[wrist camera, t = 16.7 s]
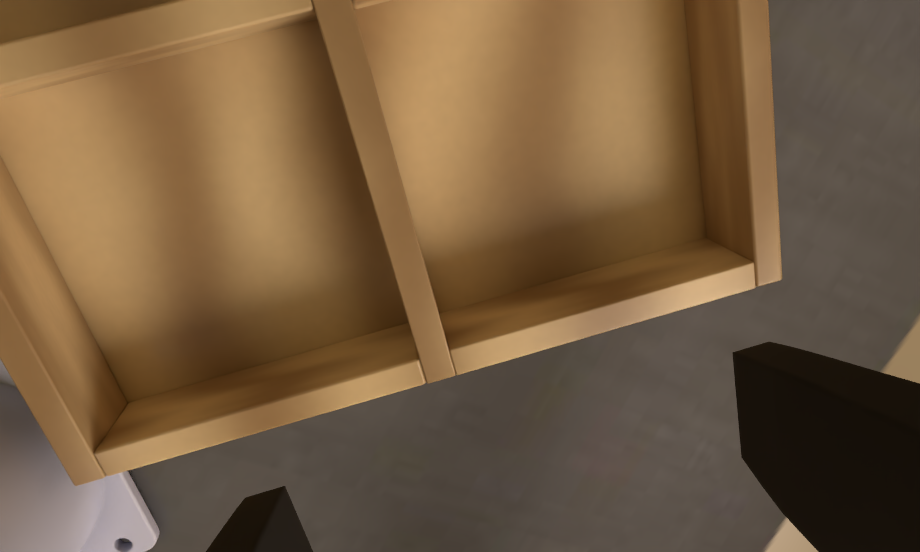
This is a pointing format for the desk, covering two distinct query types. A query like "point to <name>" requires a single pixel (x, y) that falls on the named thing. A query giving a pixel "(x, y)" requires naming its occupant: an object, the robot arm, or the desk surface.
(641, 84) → the compartment tray
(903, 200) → the desk surface
